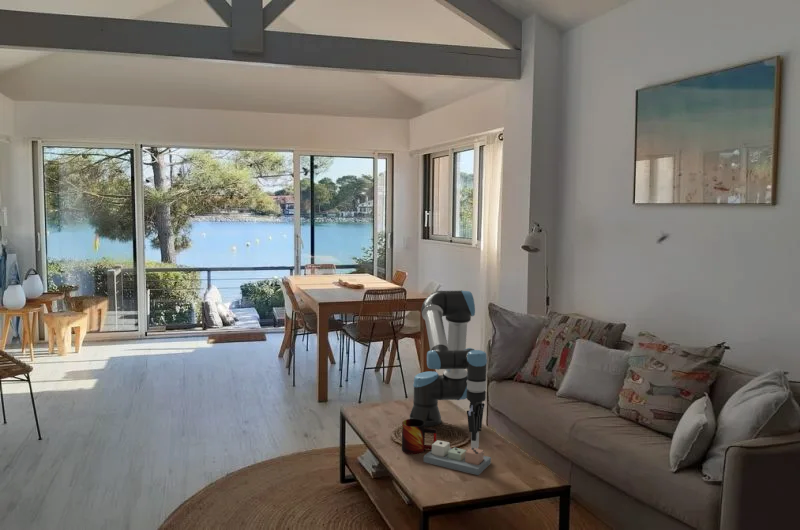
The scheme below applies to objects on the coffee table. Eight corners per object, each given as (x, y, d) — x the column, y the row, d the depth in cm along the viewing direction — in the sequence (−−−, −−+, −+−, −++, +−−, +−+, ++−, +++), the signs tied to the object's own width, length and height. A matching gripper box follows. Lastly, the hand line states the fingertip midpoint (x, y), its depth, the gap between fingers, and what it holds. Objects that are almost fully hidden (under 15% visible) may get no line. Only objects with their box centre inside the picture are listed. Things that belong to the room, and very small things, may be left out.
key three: (470, 457, 262) (471, 446, 262) (483, 460, 259) (483, 449, 259) (465, 462, 257) (465, 451, 257) (478, 465, 255) (478, 454, 254)
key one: (437, 449, 269) (437, 439, 269) (449, 452, 267) (449, 441, 266) (431, 454, 265) (431, 443, 264) (443, 457, 262) (443, 446, 261)
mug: (436, 452, 272) (437, 425, 271) (405, 455, 269) (405, 427, 267) (430, 443, 282) (430, 417, 280) (399, 446, 278) (399, 419, 277)
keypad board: (437, 450, 274) (437, 445, 273) (490, 463, 262) (490, 457, 262) (423, 461, 262) (423, 456, 262) (478, 475, 251) (478, 469, 250)
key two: (453, 457, 266) (454, 446, 265) (466, 459, 263) (466, 449, 263) (448, 461, 261) (448, 451, 261) (460, 464, 258) (460, 454, 258)
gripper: (473, 384, 262) (472, 440, 265) (460, 392, 251) (459, 451, 254) (491, 387, 259) (489, 443, 261) (478, 395, 247) (477, 455, 250)
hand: (474, 447), depth 258 cm, fingers closed
